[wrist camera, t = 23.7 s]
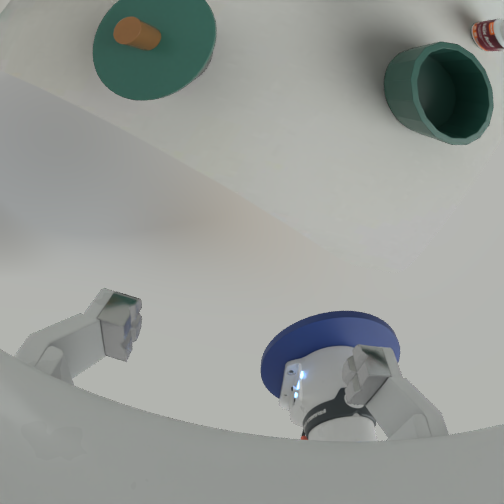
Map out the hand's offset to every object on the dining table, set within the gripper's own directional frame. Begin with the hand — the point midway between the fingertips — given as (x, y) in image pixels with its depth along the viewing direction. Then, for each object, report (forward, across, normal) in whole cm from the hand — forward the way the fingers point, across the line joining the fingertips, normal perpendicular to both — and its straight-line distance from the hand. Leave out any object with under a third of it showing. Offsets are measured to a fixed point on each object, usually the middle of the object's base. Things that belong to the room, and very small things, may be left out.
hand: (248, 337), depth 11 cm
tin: (+31, -18, -16) cm, 39 cm away
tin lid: (+22, +14, -12) cm, 28 cm away
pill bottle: (+31, -26, -30) cm, 50 cm away
